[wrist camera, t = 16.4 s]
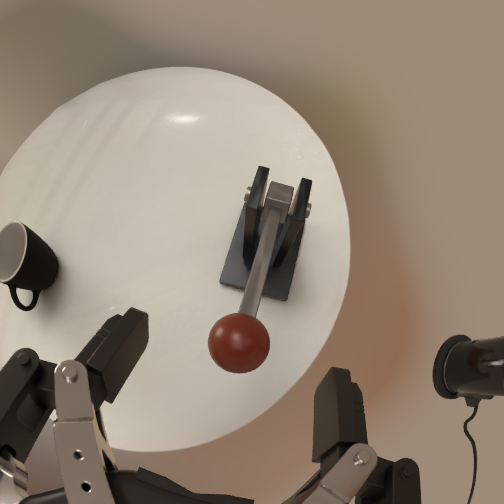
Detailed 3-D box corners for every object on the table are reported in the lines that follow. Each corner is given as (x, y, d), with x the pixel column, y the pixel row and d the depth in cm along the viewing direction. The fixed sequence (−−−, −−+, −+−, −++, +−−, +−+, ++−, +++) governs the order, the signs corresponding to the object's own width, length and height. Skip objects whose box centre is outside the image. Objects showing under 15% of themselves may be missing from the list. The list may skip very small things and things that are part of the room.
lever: (256, 386, 15) (269, 370, 13) (200, 370, 16) (199, 350, 13) (293, 213, 27) (303, 183, 24) (258, 203, 27) (265, 173, 25)
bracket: (285, 301, 36) (318, 272, 21) (219, 283, 36) (207, 241, 21) (303, 222, 40) (337, 156, 25) (244, 205, 40) (249, 132, 25)
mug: (30, 248, 36) (-6, 226, 26) (66, 240, 37) (31, 214, 27) (27, 316, 32) (-14, 306, 23) (64, 314, 33) (23, 303, 24)
